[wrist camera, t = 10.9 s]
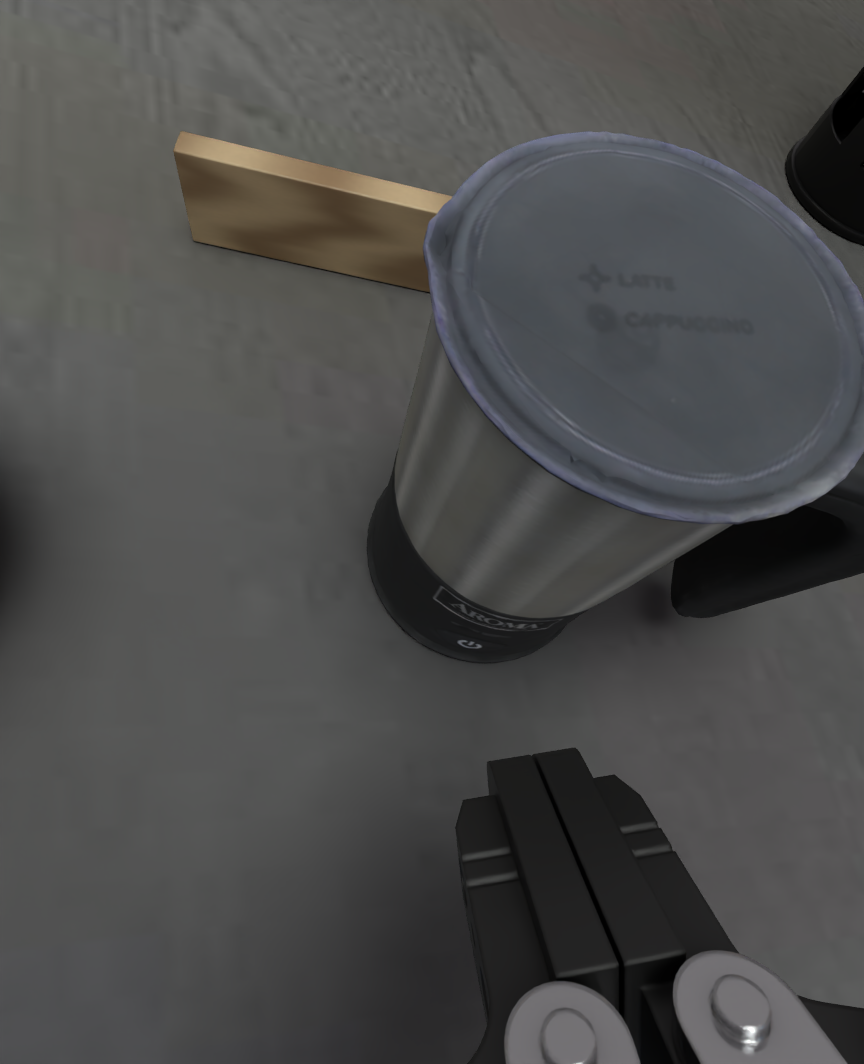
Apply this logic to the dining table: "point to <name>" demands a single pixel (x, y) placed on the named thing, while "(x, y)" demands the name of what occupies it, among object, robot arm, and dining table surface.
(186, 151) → the corner rail
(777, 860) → the dining table surface
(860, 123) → the french press
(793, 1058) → the robot arm
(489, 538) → the milk frother
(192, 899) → the dining table surface
